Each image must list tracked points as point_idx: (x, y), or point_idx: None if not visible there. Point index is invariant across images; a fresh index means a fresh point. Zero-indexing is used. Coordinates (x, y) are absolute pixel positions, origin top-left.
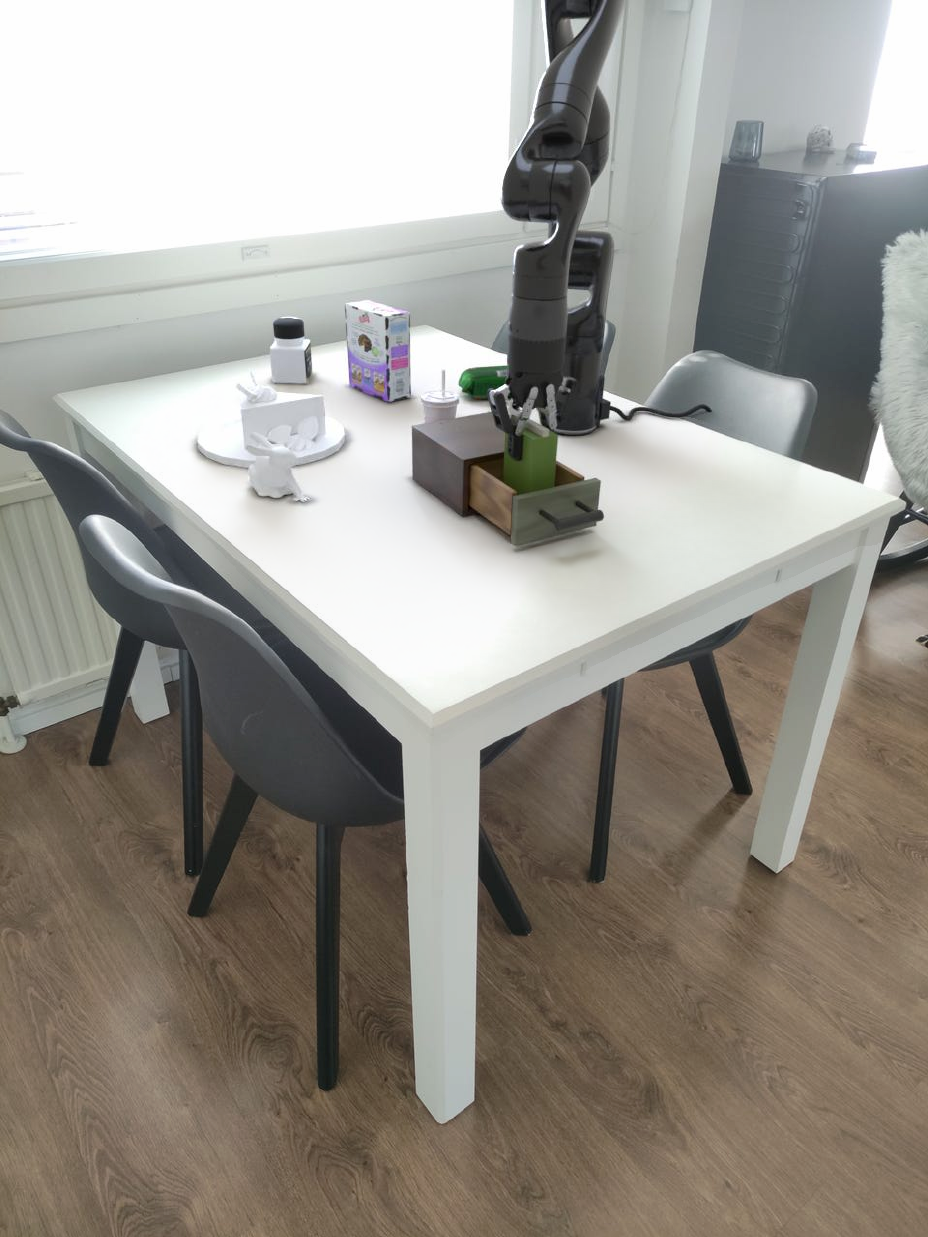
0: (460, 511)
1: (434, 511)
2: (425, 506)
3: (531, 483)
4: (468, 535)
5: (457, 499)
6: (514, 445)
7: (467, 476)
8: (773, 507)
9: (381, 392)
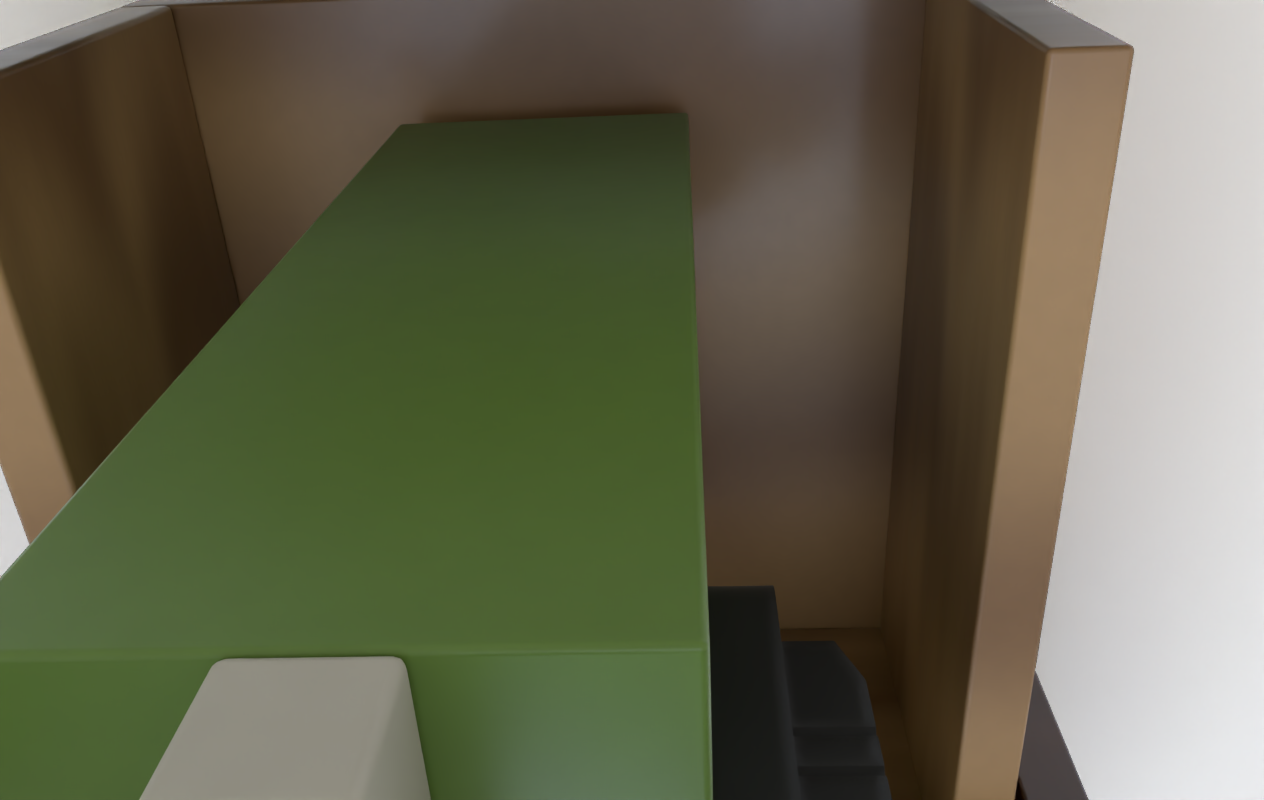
0: None
1: (1089, 670)
2: (1090, 747)
3: (682, 226)
4: (1142, 257)
5: None
6: (864, 798)
7: (1029, 773)
8: None
9: None
